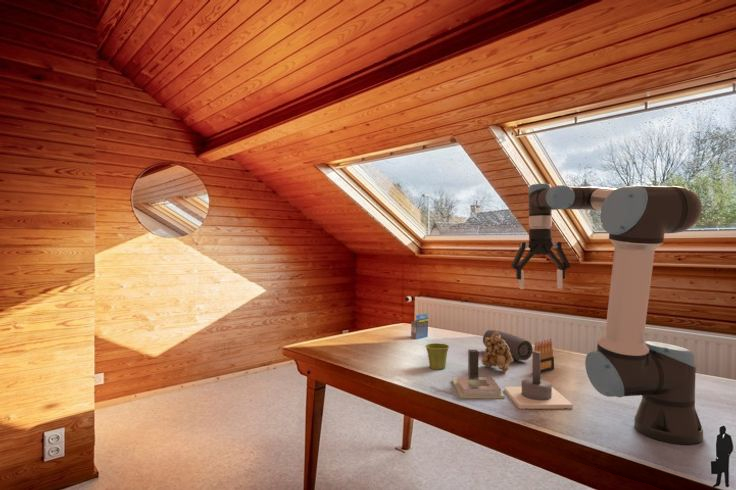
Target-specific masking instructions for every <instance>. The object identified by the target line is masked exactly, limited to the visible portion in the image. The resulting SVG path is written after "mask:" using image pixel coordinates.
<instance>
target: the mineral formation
mask: <svg viewBox="0 0 736 490" xmlns="http://www.w3.org/2000/svg"><path fill="white" fill-rule="evenodd" d="M485 341H486V342H484V343H483V345H484V344H485V345H484V346H485V348H484V355H483V356H482V358H481V363H482V365H483V366H485V367H496V366H498V369H499V370H501V371H502V373H507V371H509V366H510V364H511V363H514V360H513V358H512V356H511V353H510V349H509V346H508V345H507V343H505V340H503V339H501V335H500V334H499V333H498V332H495V333H494V334H492V335H491V337H490V338H485Z"/></svg>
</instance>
